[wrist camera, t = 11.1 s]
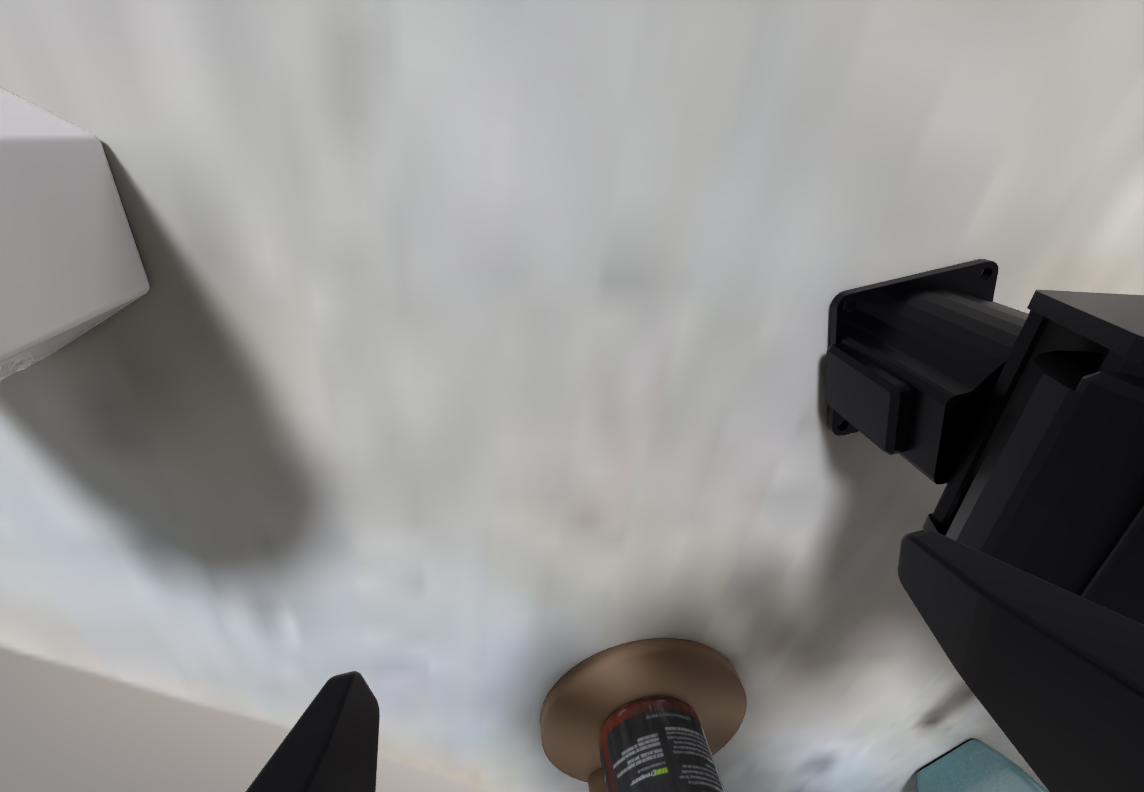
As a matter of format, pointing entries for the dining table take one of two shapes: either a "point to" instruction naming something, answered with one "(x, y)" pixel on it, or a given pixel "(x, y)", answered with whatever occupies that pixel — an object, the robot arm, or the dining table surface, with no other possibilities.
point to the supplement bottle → (656, 749)
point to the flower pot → (975, 772)
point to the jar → (57, 236)
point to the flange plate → (631, 676)
